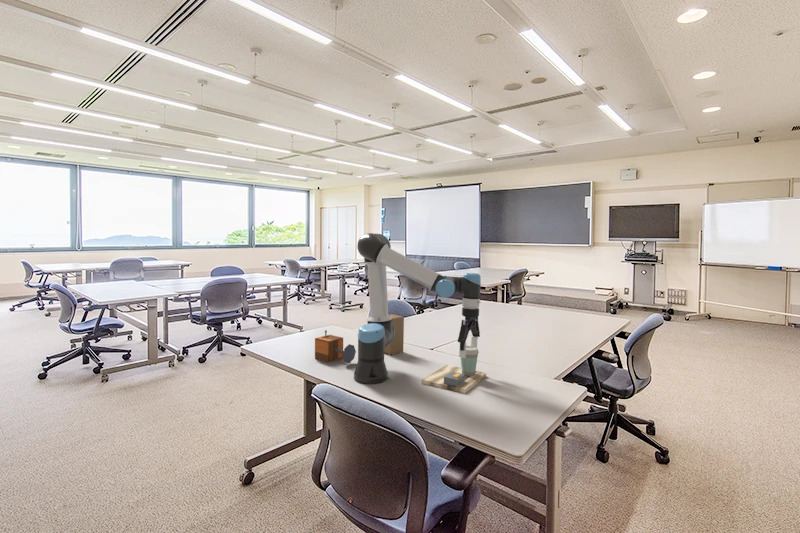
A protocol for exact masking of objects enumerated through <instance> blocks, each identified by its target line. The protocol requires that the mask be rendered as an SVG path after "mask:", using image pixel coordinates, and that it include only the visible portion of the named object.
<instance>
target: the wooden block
mask: <svg viewBox="0 0 800 533" xmlns="http://www.w3.org/2000/svg"><path fill="white" fill-rule="evenodd" d="M388 315H389V316H390V317H391V318H392V325H393V327H394V330H395V334H394V338H393V340H392V341H391V342H390V343H389V344H388V345H387V346H386V347H385V348H384V352H385V353H384V354H386V353H387V354H386V355H388V354H390V355H389V356H392V355H391V354H393V355H396V354H395V353H397V354H400V353H399V352H401V353H404V338H405V336H404V334H405V333H404V332H405V331H404V330H405V317H404V316H403V315H402V316H401V315H399V314H393V313H390V314H388Z"/></svg>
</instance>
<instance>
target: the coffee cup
mask: <svg viewBox="0 0 800 533" xmlns="http://www.w3.org/2000/svg"><path fill="white" fill-rule="evenodd" d="M478 355H479V350H478V347H477V348H476V347H473V346H471V345H466V358H462V357H460V365H461V366H460V368H462V374H465V376H474V375H475V371H477V370H476V369H477V364H478V363H477V362H478V358H479V356H478Z"/></svg>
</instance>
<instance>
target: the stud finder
mask: <svg viewBox="0 0 800 533" xmlns="http://www.w3.org/2000/svg"><path fill="white" fill-rule="evenodd" d="M464 381H465V374H461V373H456V372H451V373H449V374H448V375H446V376H445V377H444V384H447V385H451V386H455V387H457V386H459V385H460V384H461V383H463V382H464Z"/></svg>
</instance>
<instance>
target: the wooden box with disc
mask: <svg viewBox="0 0 800 533" xmlns="http://www.w3.org/2000/svg"><path fill="white" fill-rule="evenodd" d="M327 333H328V332H327V329H325V330H324V334H325V335H323V336H318V337H315V338H314V359H316V360H319V361H322V362H326V363H331V362H334V361H338V360H341V359H343V360H344V363H348V364H349V363H351V362H352V361H353V360H354V359H355V356H356V353H357V350H356V348H355V345H353V344H347V345H346V346H345V348H344V337H341V336H339V335H333V334H327ZM337 359H338V360H337Z"/></svg>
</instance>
